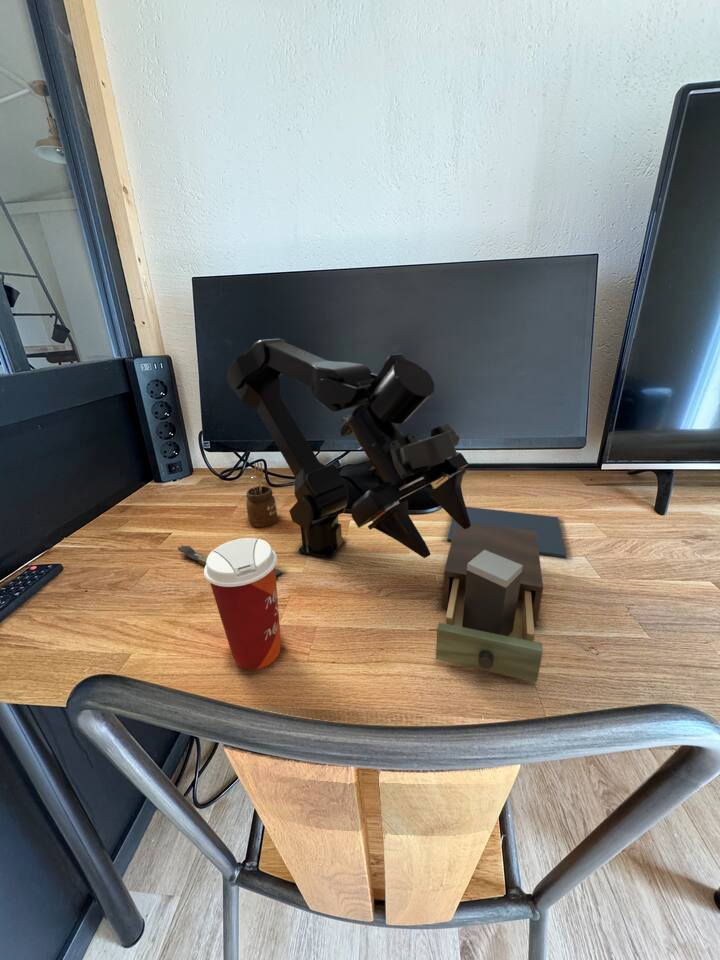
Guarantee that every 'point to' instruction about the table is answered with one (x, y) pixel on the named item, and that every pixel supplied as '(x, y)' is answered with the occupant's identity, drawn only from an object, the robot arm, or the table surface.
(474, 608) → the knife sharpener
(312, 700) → the table surface
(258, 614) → the coffee cup
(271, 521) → the utensil holder
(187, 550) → the tactical tomahawk
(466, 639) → the drawer
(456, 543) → the cabinet
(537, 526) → the mat
